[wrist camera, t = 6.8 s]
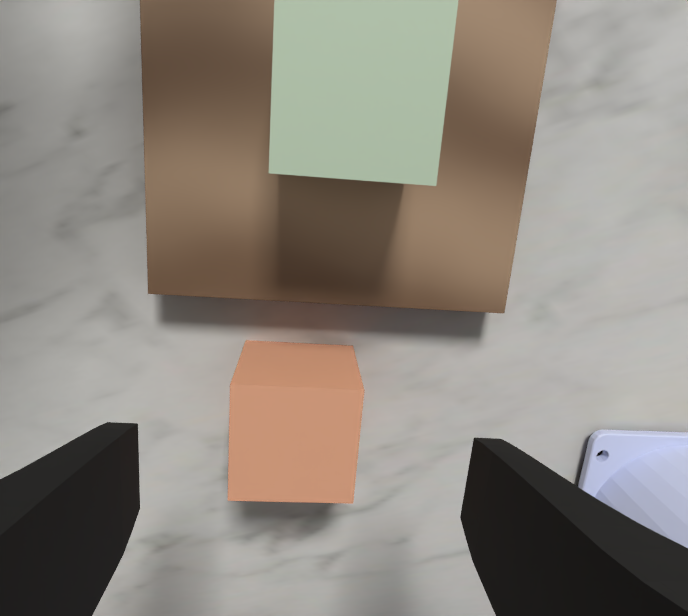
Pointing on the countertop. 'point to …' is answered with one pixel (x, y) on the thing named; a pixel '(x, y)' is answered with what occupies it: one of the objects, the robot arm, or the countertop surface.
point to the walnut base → (331, 193)
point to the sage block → (360, 88)
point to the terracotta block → (294, 423)
